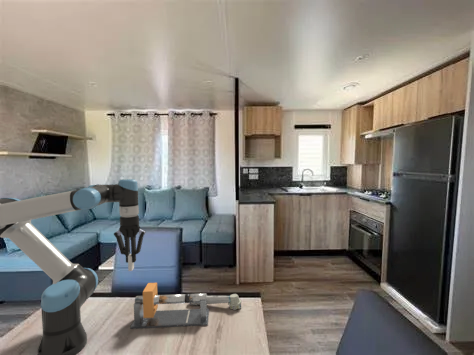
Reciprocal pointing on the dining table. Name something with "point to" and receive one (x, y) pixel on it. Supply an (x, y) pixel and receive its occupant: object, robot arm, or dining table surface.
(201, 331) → the dining table surface
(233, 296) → the white blue-tipped device
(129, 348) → the dining table surface
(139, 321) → the pipe rig
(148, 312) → the collar
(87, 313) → the dining table surface
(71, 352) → the robot arm
